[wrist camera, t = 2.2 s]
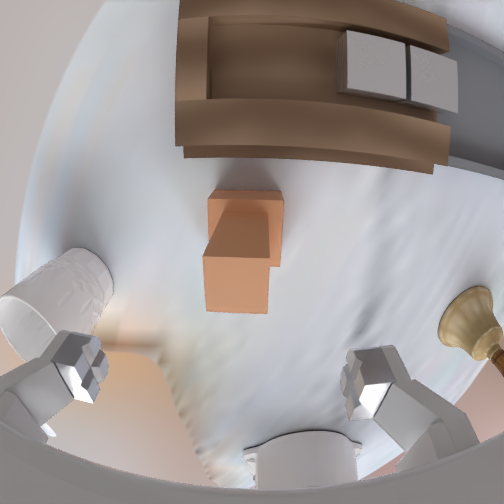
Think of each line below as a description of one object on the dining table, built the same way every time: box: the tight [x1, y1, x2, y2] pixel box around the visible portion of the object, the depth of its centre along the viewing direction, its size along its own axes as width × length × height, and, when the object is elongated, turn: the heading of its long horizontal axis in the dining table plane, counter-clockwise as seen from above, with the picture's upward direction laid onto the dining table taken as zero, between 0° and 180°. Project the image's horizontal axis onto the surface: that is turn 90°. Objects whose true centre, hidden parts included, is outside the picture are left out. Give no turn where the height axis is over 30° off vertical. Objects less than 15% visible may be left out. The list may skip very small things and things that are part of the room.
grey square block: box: [393, 45, 458, 113], centre depth 15 cm, size 4×4×3 cm
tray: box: [437, 24, 504, 180], centre depth 16 cm, size 12×12×2 cm
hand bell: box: [438, 286, 504, 377], centre depth 19 cm, size 8×8×16 cm
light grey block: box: [336, 30, 406, 101], centre depth 15 cm, size 4×4×3 cm
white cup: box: [0, 248, 113, 362], centre depth 21 cm, size 8×8×10 cm
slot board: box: [175, 0, 451, 174], centre depth 16 cm, size 14×19×3 cm
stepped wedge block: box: [203, 190, 284, 314], centre depth 18 cm, size 5×5×10 cm
